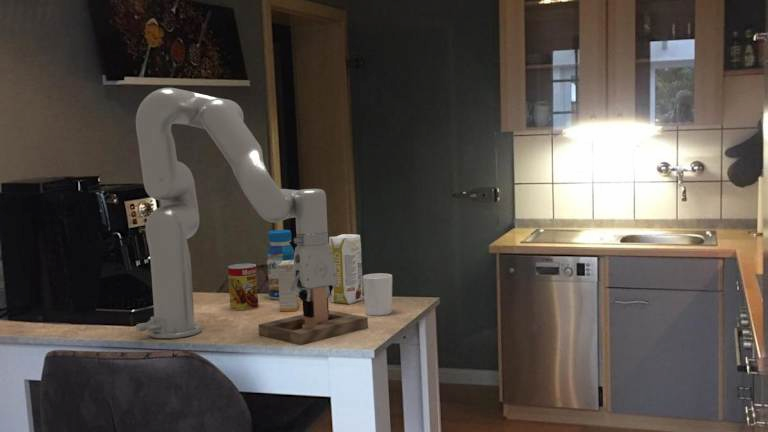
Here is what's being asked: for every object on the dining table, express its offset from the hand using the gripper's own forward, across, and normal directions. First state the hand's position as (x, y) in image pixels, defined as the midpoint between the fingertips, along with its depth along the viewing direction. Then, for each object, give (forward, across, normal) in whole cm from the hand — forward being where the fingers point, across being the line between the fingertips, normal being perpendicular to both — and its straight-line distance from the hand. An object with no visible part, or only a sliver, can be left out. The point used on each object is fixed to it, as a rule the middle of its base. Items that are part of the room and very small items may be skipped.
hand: (316, 314), depth 199 cm
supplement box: (+4, +13, +27) cm, 30 cm away
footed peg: (+4, 0, 0) cm, 4 cm away
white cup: (+4, +23, +2) cm, 24 cm away
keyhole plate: (+4, -1, 0) cm, 4 cm away
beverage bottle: (+4, +22, +42) cm, 48 cm away
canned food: (+4, +6, +39) cm, 40 cm away
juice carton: (+4, +29, +21) cm, 36 cm away
